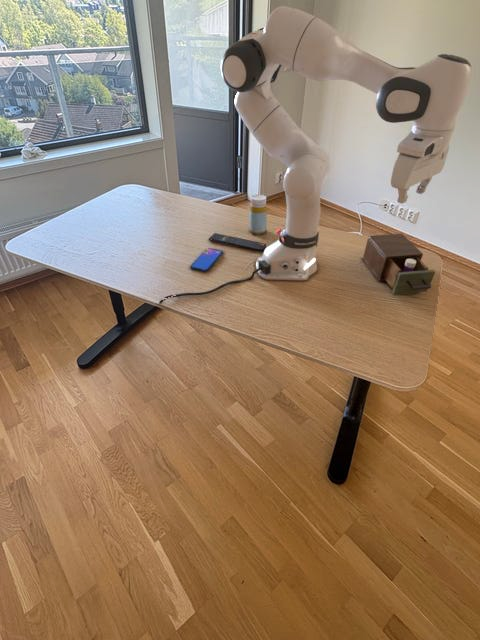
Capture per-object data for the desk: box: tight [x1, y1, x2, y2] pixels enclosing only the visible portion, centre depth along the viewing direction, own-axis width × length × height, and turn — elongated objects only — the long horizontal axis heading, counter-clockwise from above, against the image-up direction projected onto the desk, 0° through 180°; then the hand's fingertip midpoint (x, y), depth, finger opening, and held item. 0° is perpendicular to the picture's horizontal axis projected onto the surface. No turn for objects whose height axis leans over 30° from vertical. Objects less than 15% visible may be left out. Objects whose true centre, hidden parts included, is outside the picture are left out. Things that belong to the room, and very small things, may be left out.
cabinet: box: [362, 233, 424, 282], centre depth 123 cm, size 15×13×10 cm
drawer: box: [383, 257, 436, 296], centre depth 114 cm, size 18×12×8 cm, turn 7°
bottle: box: [249, 194, 268, 236], centre depth 145 cm, size 7×7×15 cm
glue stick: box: [402, 259, 416, 272], centre depth 113 cm, size 3×3×8 cm
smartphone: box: [190, 247, 224, 272], centre depth 132 cm, size 7×1×15 cm
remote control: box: [208, 232, 267, 252], centre depth 141 cm, size 5×24×1 cm, turn 65°
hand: (411, 197), depth 91 cm, fingers open, 8 cm apart
